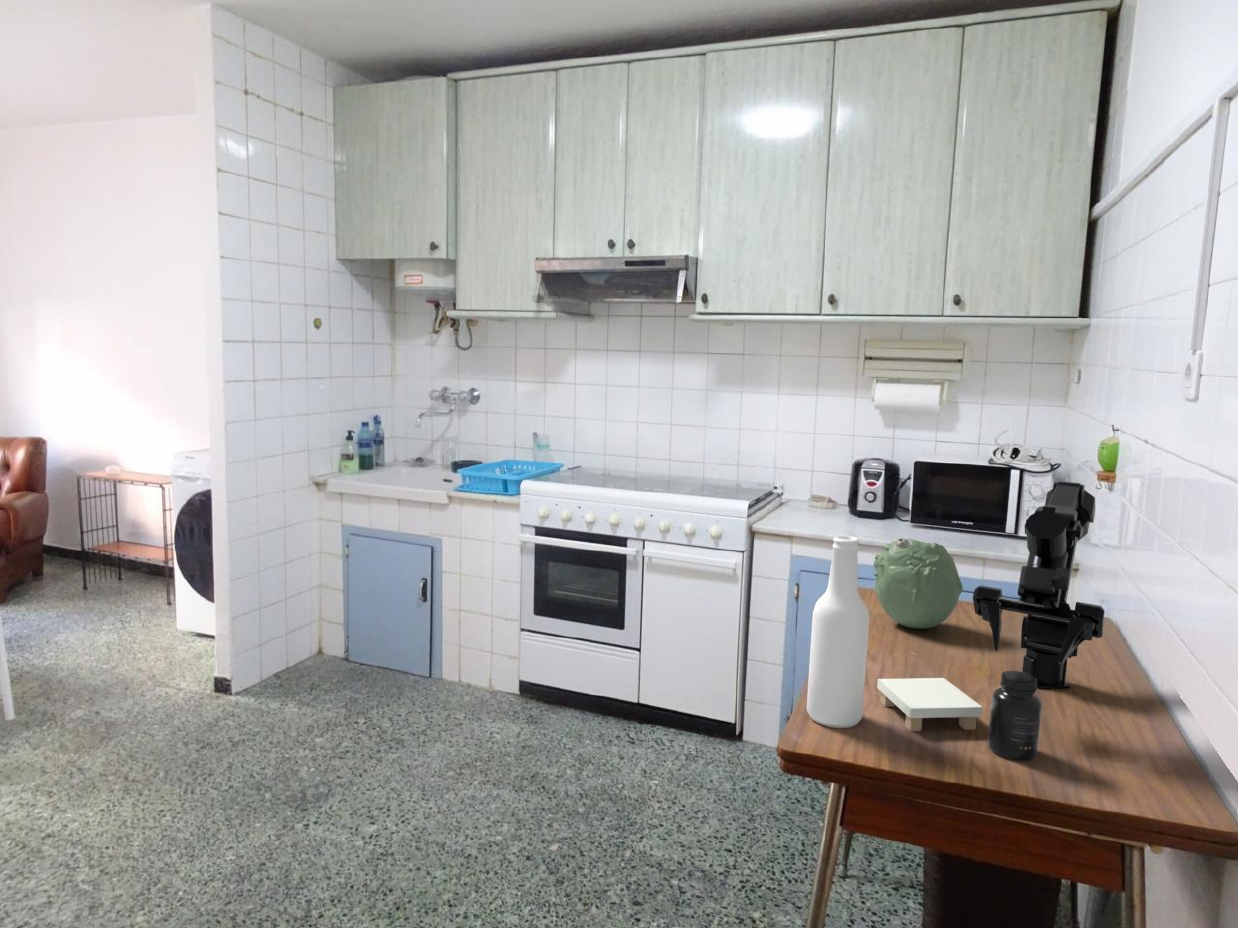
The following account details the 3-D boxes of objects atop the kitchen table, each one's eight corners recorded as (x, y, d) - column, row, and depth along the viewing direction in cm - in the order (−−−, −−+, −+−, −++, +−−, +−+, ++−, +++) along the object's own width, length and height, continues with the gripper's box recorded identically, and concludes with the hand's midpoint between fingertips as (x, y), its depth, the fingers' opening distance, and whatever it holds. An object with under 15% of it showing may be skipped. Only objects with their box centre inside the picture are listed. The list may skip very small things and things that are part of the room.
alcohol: (840, 703, 139) (852, 531, 136) (873, 725, 131) (887, 542, 128) (795, 709, 136) (807, 533, 133) (826, 732, 128) (839, 545, 124)
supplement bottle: (978, 741, 127) (985, 667, 125) (1020, 740, 128) (1027, 667, 126) (1002, 762, 120) (1010, 684, 119) (1046, 762, 121) (1054, 684, 119)
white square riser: (941, 699, 142) (943, 677, 142) (979, 730, 131) (982, 706, 130) (876, 701, 141) (877, 678, 140) (908, 732, 129) (910, 708, 129)
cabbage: (958, 644, 172) (966, 551, 169) (865, 630, 179) (871, 540, 177) (958, 623, 186) (966, 537, 184) (872, 611, 193) (879, 528, 191)
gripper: (980, 537, 136) (959, 617, 128) (1110, 555, 125) (1096, 644, 117) (985, 574, 143) (966, 652, 135) (1108, 594, 133) (1095, 680, 125)
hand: (1027, 656), depth 128 cm, fingers open, 9 cm apart
